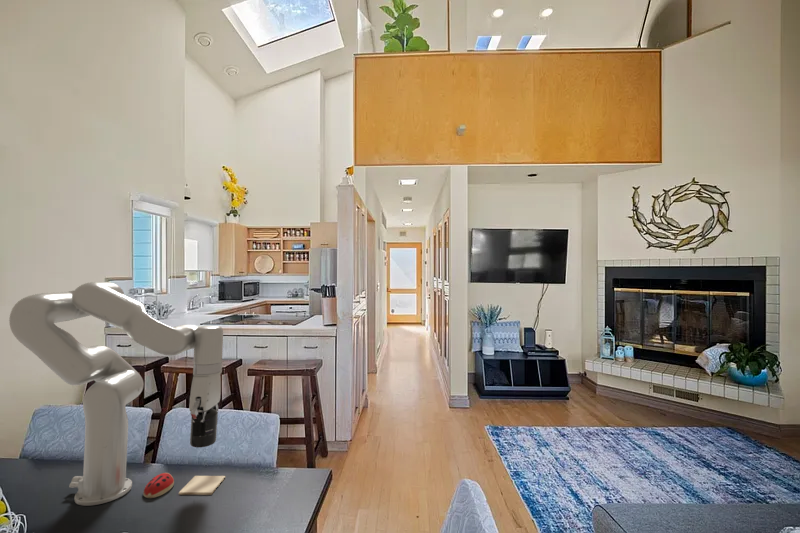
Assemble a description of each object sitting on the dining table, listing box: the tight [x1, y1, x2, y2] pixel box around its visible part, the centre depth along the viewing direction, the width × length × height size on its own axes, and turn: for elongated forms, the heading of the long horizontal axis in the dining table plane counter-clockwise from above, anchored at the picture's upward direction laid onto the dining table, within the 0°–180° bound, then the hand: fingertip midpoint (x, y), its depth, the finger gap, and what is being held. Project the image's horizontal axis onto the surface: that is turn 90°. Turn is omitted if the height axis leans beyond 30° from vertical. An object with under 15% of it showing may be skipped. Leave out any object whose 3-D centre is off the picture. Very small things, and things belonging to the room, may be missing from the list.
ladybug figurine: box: [142, 472, 175, 499], centre depth 108 cm, size 7×10×4 cm
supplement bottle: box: [189, 406, 219, 449], centre depth 111 cm, size 7×7×12 cm
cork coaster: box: [178, 475, 226, 496], centre depth 111 cm, size 9×9×1 cm
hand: (205, 430), depth 111 cm, fingers closed on supplement bottle, 6 cm apart
